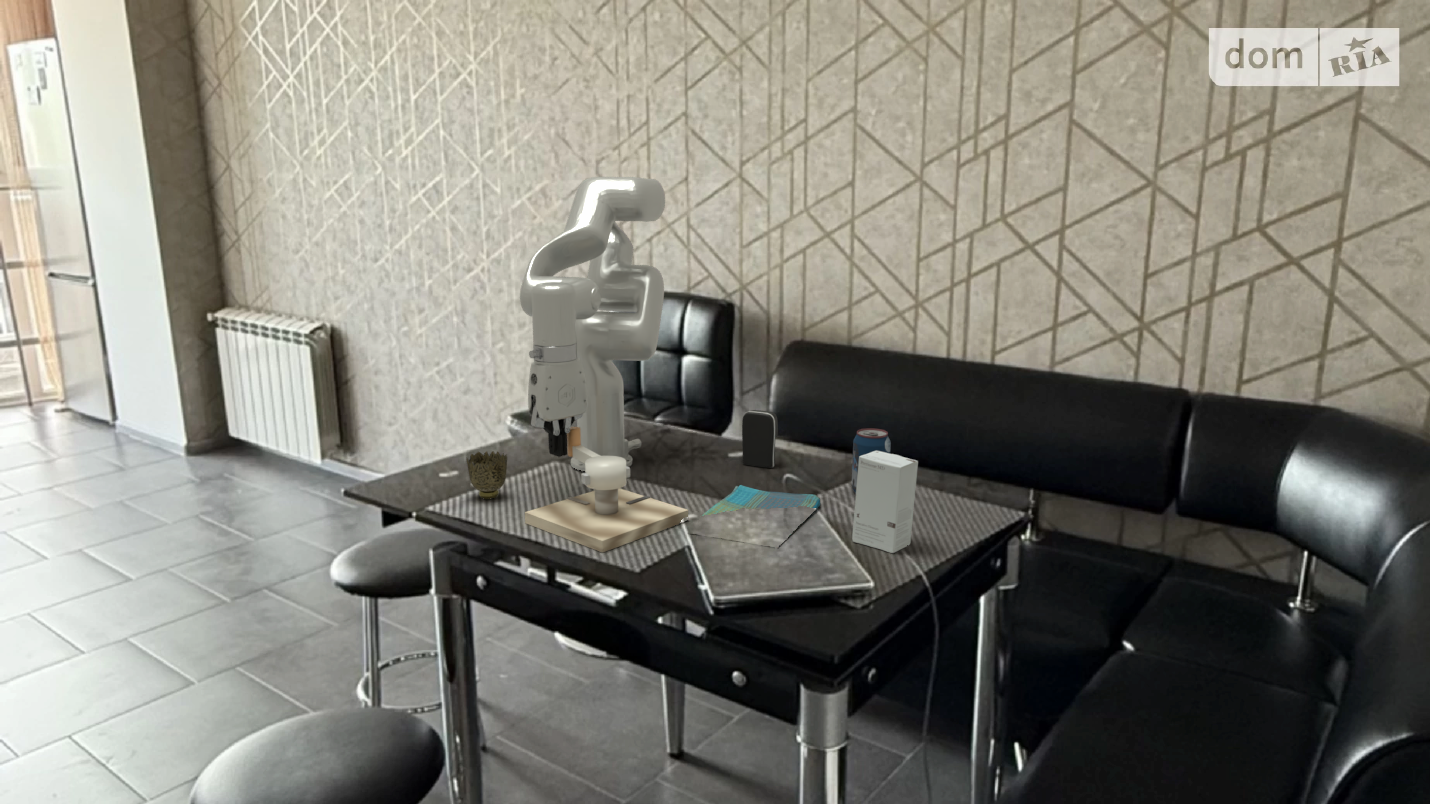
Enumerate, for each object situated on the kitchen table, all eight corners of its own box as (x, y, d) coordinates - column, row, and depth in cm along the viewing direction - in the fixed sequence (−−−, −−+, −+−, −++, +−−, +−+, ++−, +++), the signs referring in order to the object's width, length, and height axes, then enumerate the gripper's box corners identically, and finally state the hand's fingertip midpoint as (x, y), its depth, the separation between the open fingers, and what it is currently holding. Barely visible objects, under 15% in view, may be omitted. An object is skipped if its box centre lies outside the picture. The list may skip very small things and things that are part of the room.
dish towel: (823, 507, 190) (823, 494, 190) (779, 551, 170) (779, 537, 169) (736, 495, 197) (736, 482, 197) (683, 536, 176) (683, 522, 176)
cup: (499, 505, 190) (497, 463, 188) (461, 502, 191) (459, 460, 189) (515, 492, 197) (513, 451, 195) (478, 489, 198) (476, 449, 196)
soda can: (895, 493, 197) (898, 432, 194) (874, 502, 192) (877, 439, 189) (865, 485, 201) (867, 425, 199) (844, 493, 196) (846, 432, 194)
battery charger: (779, 464, 215) (780, 410, 212) (772, 469, 211) (773, 414, 208) (747, 460, 217) (748, 407, 215) (740, 465, 214) (741, 411, 211)
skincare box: (851, 542, 172) (854, 456, 169) (870, 532, 177) (874, 448, 173) (895, 555, 167) (899, 466, 163) (914, 544, 171) (919, 457, 168)
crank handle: (593, 460, 193) (592, 423, 191) (637, 484, 179) (637, 445, 177) (550, 467, 188) (548, 430, 187) (592, 493, 174) (591, 453, 173)
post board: (610, 495, 195) (610, 461, 193) (688, 520, 182) (688, 484, 180) (525, 523, 181) (523, 486, 179) (602, 552, 168) (601, 513, 166)
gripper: (533, 362, 174) (537, 467, 178) (601, 350, 185) (603, 450, 189) (507, 356, 179) (511, 458, 183) (575, 345, 190) (577, 442, 194)
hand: (558, 454), depth 186 cm, fingers closed
